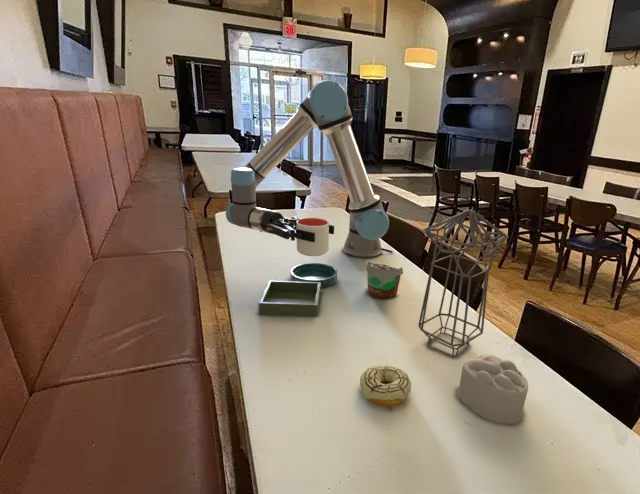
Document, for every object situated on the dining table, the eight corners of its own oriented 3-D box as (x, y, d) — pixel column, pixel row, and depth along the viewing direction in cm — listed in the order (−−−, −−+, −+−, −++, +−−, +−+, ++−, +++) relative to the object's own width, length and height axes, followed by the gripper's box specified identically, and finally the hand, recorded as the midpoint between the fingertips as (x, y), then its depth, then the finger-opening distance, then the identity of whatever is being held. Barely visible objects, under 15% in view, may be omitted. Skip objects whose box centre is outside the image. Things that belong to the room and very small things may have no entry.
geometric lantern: (405, 343, 104) (421, 207, 91) (440, 323, 115) (458, 199, 103) (459, 371, 95) (485, 223, 82) (491, 346, 106) (517, 213, 93)
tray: (320, 292, 128) (320, 282, 127) (317, 316, 114) (317, 305, 113) (269, 290, 127) (269, 280, 125) (259, 314, 112) (258, 303, 111)
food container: (357, 295, 129) (358, 265, 125) (365, 288, 134) (367, 259, 130) (393, 304, 125) (396, 273, 121) (400, 296, 130) (403, 267, 126)
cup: (331, 249, 136) (332, 219, 133) (324, 259, 127) (324, 227, 124) (301, 245, 137) (301, 216, 134) (292, 255, 128) (292, 224, 124)
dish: (337, 271, 145) (338, 263, 144) (336, 289, 131) (336, 281, 130) (293, 270, 144) (293, 262, 143) (287, 288, 130) (287, 279, 129)
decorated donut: (359, 409, 80) (360, 393, 79) (359, 375, 90) (360, 361, 89) (412, 410, 81) (414, 394, 80) (406, 376, 91) (407, 362, 90)
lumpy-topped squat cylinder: (484, 378, 93) (490, 345, 90) (533, 412, 83) (543, 376, 80) (451, 393, 87) (457, 358, 84) (500, 432, 77) (509, 394, 74)
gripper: (289, 225, 147) (342, 236, 139) (243, 240, 128) (302, 254, 120) (289, 204, 145) (343, 215, 136) (242, 216, 126) (302, 229, 117)
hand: (324, 233), depth 128 cm, fingers closed on cup, 10 cm apart
